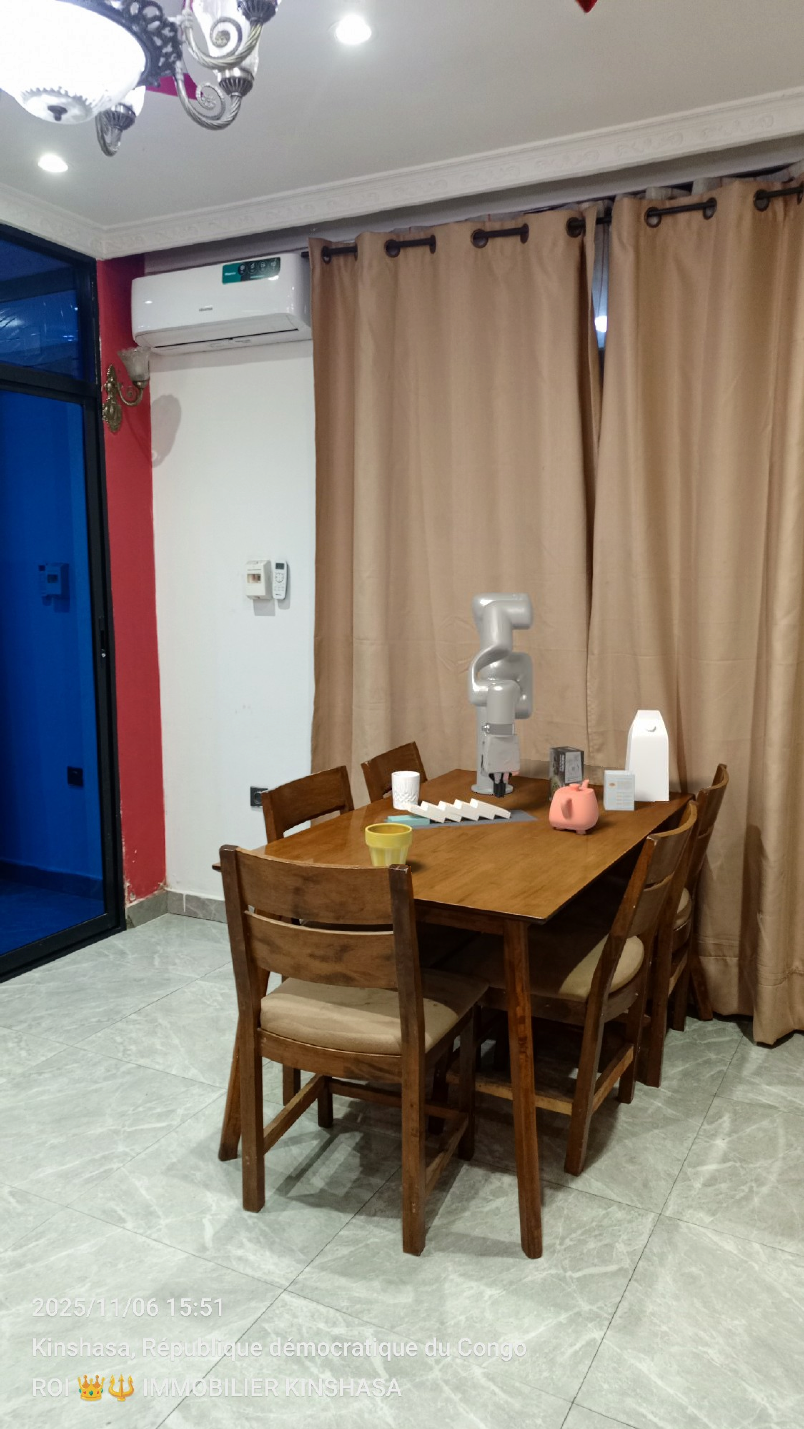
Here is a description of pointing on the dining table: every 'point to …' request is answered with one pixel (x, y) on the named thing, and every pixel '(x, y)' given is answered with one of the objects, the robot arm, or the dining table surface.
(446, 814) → the domino
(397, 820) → the domino
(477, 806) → the domino
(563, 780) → the coffee box
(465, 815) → the domino
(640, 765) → the milk
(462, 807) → the domino
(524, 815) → the mat
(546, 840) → the dining table surface
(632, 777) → the small box
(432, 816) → the domino
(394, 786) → the white cup
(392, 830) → the plant pot
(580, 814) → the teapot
